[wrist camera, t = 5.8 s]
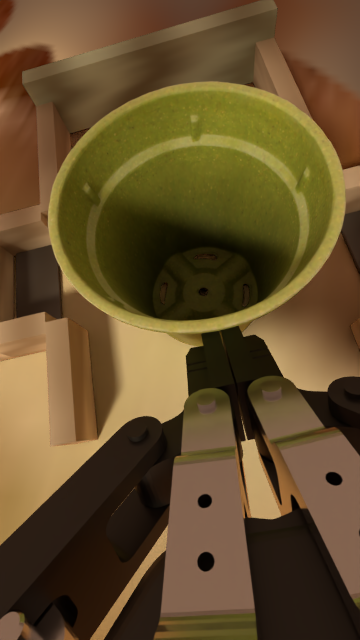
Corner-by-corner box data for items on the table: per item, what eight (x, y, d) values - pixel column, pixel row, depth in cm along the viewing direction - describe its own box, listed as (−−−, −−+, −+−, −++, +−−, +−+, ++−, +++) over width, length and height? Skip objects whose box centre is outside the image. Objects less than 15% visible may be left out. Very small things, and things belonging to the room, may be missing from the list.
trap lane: (-7, 460, 17) (-74, 470, 13) (-2, 142, 25) (-43, 91, 21) (497, 357, 15) (588, 334, 11) (327, 48, 23) (347, -26, 19)
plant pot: (286, 221, 19) (329, 65, 11) (297, 380, 16) (369, 331, 8) (134, 228, 20) (71, 95, 12) (118, 376, 17) (20, 330, 9)
